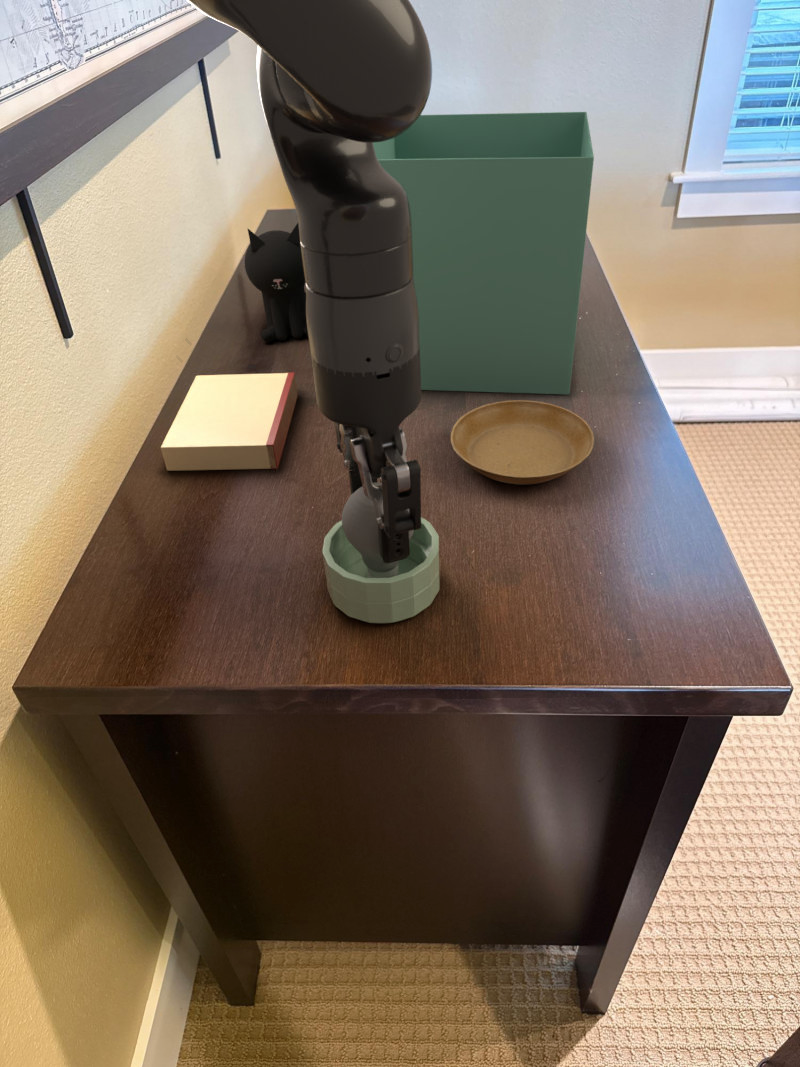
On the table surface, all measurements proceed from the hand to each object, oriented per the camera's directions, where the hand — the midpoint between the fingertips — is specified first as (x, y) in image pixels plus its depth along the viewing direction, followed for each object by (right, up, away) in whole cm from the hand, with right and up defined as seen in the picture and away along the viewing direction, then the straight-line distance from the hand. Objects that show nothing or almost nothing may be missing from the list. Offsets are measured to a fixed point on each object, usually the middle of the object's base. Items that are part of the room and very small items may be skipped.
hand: (380, 530), depth 63 cm
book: (-17, +12, +26) cm, 33 cm away
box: (+12, +23, +38) cm, 46 cm away
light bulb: (0, -5, +4) cm, 6 cm away
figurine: (-11, +28, +45) cm, 54 cm away
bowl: (0, -5, +4) cm, 6 cm away
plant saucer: (+14, +8, +19) cm, 25 cm away
